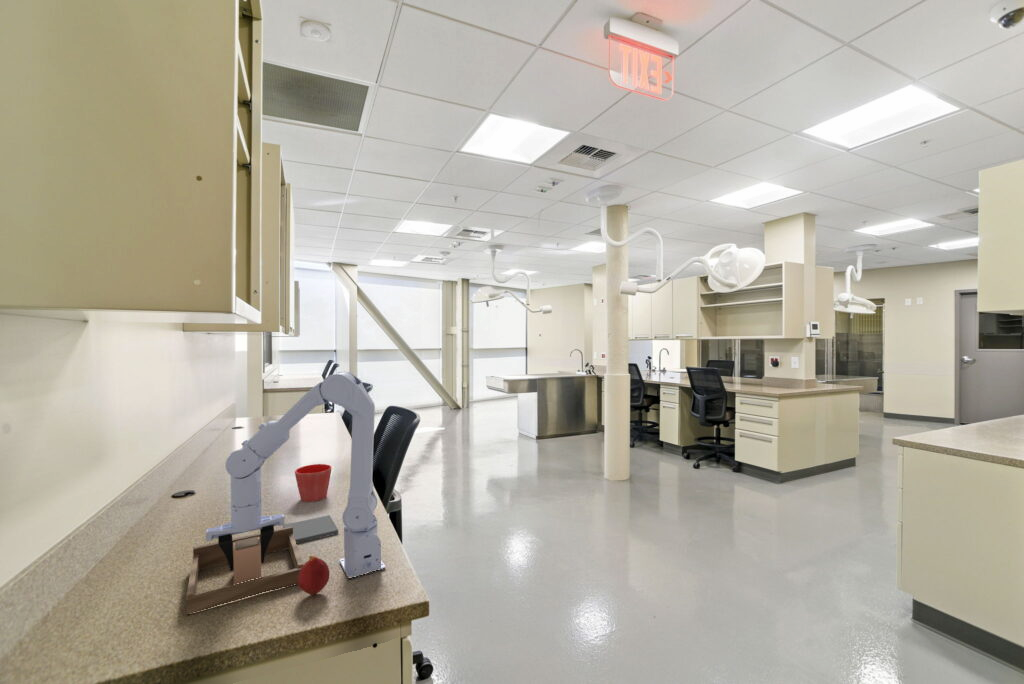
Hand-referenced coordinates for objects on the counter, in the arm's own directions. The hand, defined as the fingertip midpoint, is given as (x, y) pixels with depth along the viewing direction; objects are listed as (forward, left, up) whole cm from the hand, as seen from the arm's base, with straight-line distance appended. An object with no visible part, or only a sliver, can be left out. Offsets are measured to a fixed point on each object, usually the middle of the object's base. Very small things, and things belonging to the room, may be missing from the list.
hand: (247, 564), depth 95 cm
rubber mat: (+17, -15, -2) cm, 23 cm away
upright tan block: (0, 0, -2) cm, 2 cm away
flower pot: (+44, -20, -3) cm, 48 cm away
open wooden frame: (0, 0, -2) cm, 2 cm away
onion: (-16, -11, -3) cm, 20 cm away
